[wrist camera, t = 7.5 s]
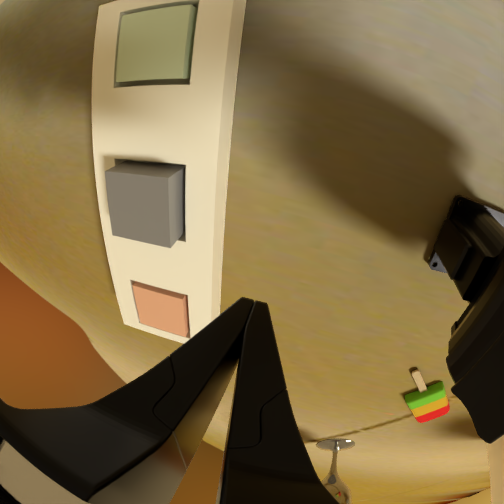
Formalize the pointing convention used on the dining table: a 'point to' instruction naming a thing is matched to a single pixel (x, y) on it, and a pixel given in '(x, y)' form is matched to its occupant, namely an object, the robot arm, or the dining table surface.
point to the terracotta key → (162, 308)
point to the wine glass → (333, 479)
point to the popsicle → (427, 400)
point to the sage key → (156, 44)
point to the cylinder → (496, 470)
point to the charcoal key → (146, 202)
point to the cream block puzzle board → (170, 153)
